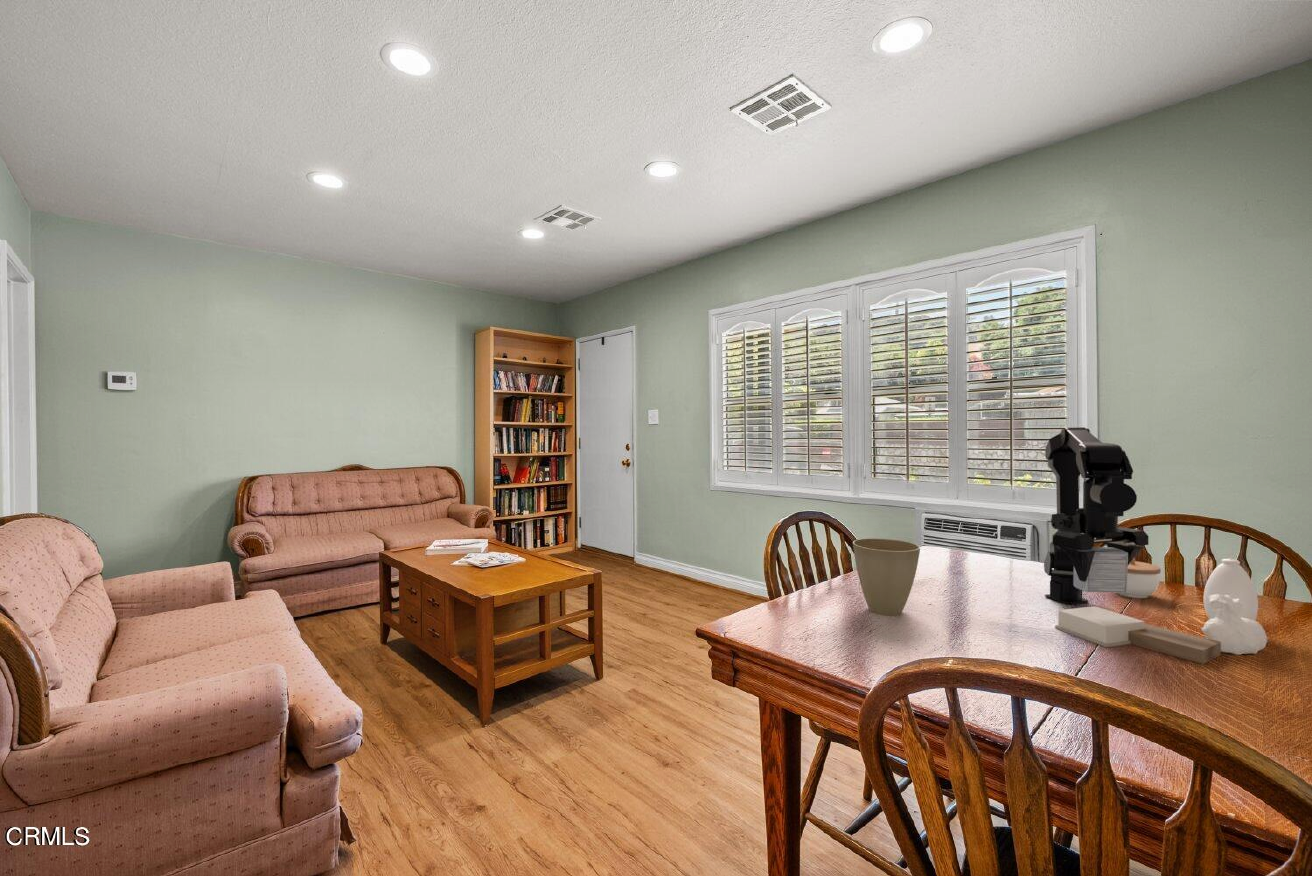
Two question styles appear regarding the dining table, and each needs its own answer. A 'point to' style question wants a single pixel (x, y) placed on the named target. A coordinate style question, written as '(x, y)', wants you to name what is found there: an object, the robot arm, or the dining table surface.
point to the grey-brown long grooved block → (1175, 643)
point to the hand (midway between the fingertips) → (1099, 579)
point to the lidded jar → (1141, 579)
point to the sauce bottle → (1232, 587)
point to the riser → (1098, 625)
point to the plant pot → (886, 572)
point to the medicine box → (1106, 572)
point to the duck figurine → (1233, 627)
